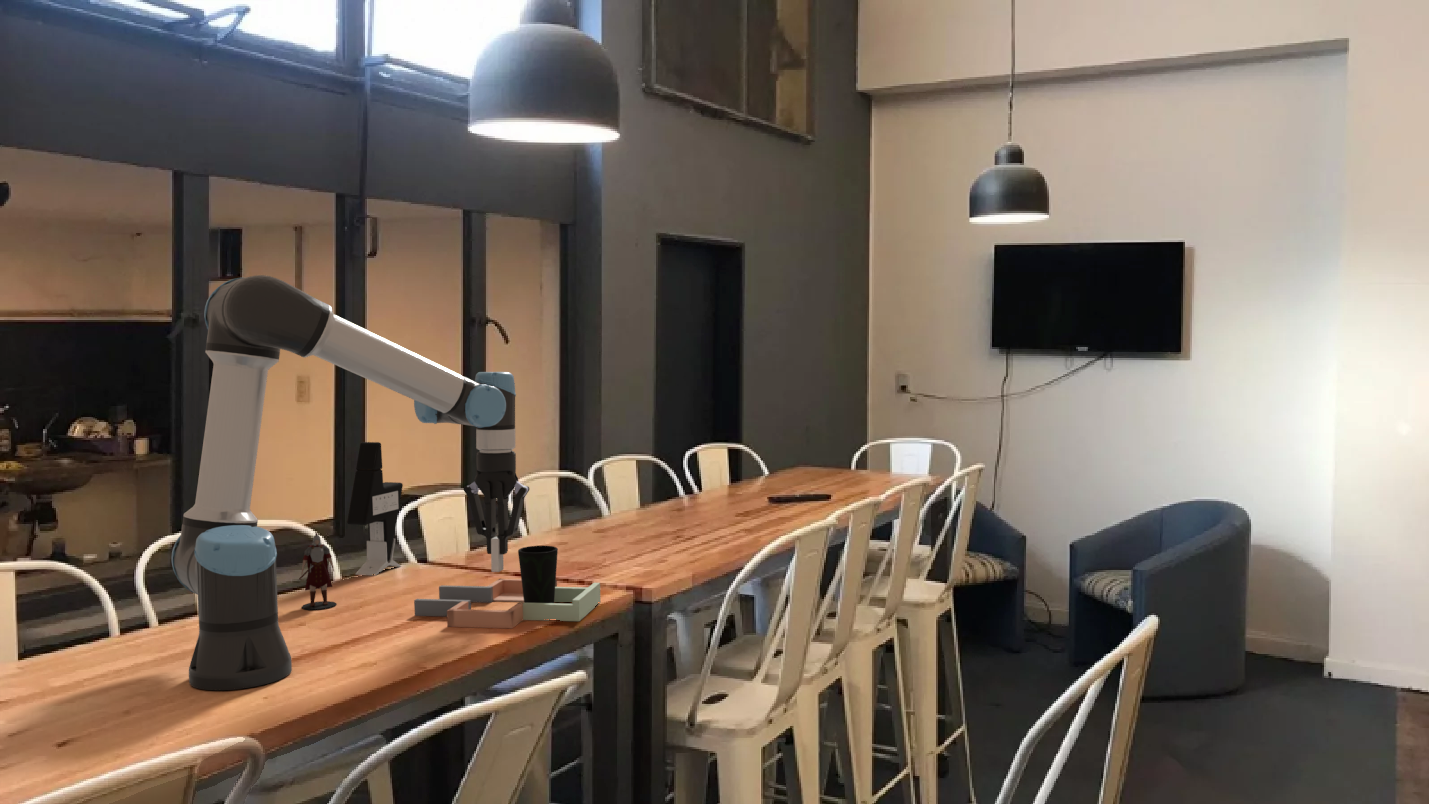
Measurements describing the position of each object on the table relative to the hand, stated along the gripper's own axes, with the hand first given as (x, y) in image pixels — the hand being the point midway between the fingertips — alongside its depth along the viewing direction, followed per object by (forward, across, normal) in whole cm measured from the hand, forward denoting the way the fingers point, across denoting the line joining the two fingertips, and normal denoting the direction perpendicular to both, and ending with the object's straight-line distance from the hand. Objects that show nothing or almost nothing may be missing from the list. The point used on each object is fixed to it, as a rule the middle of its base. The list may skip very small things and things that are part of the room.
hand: (497, 570), depth 221 cm
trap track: (+8, -1, 0) cm, 8 cm away
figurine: (+9, +38, +1) cm, 39 cm away
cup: (+8, -8, -1) cm, 11 cm away
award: (+8, +42, -33) cm, 54 cm away
